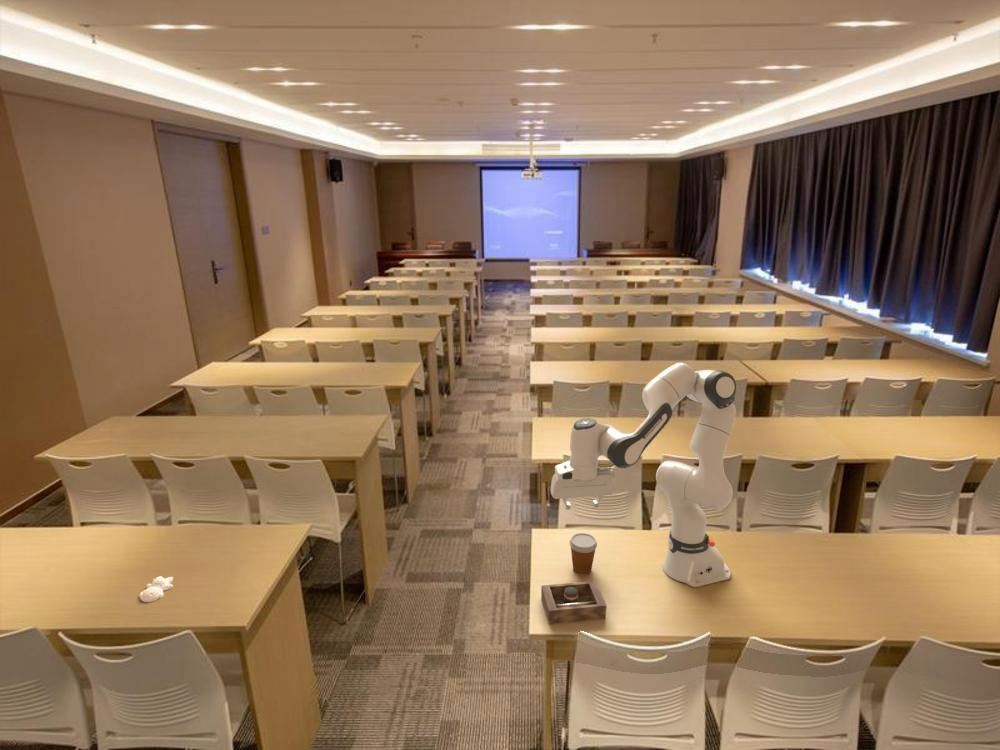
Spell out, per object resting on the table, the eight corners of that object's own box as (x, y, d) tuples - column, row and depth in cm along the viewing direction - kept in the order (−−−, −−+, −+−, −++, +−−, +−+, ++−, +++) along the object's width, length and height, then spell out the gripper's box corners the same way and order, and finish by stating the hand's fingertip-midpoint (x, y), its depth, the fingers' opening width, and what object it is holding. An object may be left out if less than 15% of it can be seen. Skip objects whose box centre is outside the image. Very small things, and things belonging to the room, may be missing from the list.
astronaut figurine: (180, 580, 208) (179, 573, 207) (156, 604, 197) (154, 596, 196) (157, 578, 209) (156, 570, 208) (132, 601, 198) (130, 593, 197)
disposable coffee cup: (595, 579, 206) (596, 549, 202) (567, 576, 208) (568, 546, 204) (596, 563, 215) (598, 533, 211) (569, 560, 217) (570, 530, 213)
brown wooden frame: (595, 593, 199) (595, 580, 198) (605, 618, 188) (606, 605, 187) (541, 598, 197) (541, 585, 196) (548, 624, 186) (548, 610, 184)
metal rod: (597, 602, 191) (597, 600, 190) (598, 604, 190) (598, 602, 190) (550, 607, 189) (551, 604, 189) (551, 609, 188) (551, 606, 188)
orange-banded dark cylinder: (579, 608, 193) (579, 595, 191) (565, 609, 192) (566, 596, 191) (575, 598, 197) (576, 586, 196) (562, 600, 196) (562, 587, 195)
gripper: (612, 462, 195) (610, 500, 200) (550, 466, 193) (549, 504, 197) (618, 471, 189) (616, 510, 194) (554, 475, 187) (553, 514, 191)
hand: (581, 507), depth 195 cm, fingers open, 8 cm apart
